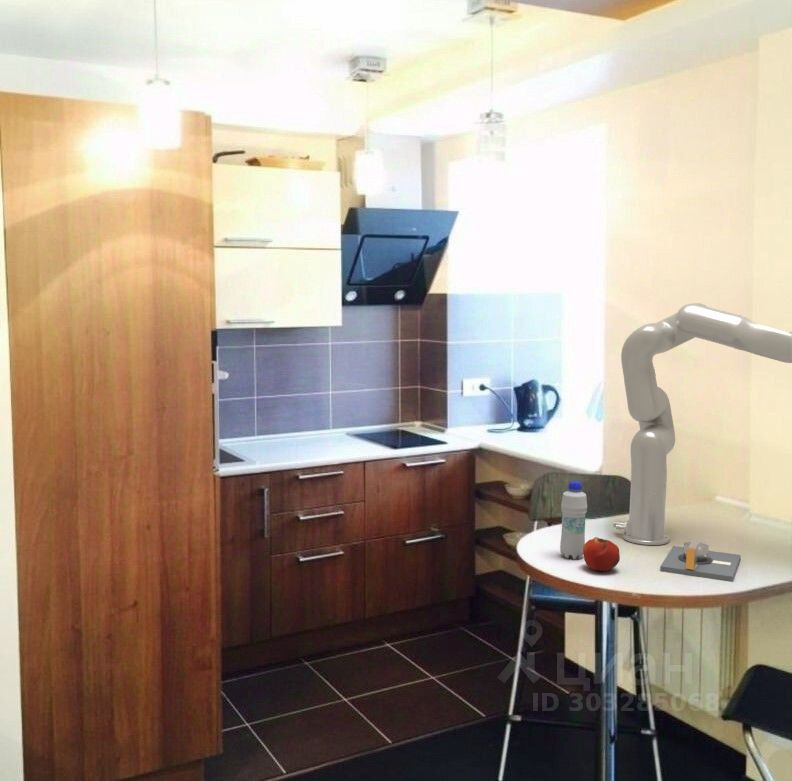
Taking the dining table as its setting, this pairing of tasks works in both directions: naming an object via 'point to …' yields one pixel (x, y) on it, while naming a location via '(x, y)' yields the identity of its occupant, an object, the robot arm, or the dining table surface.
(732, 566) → the panel
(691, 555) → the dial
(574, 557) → the bottle
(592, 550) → the tomato
